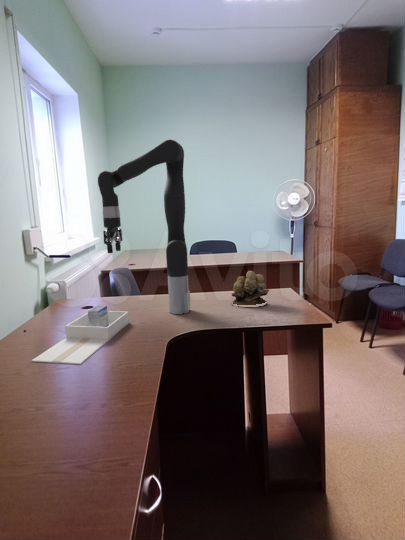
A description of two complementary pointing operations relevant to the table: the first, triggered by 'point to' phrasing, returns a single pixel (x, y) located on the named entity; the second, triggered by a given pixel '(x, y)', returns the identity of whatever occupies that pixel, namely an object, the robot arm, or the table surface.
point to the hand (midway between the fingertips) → (114, 251)
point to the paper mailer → (83, 339)
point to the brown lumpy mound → (249, 289)
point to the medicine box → (98, 317)
